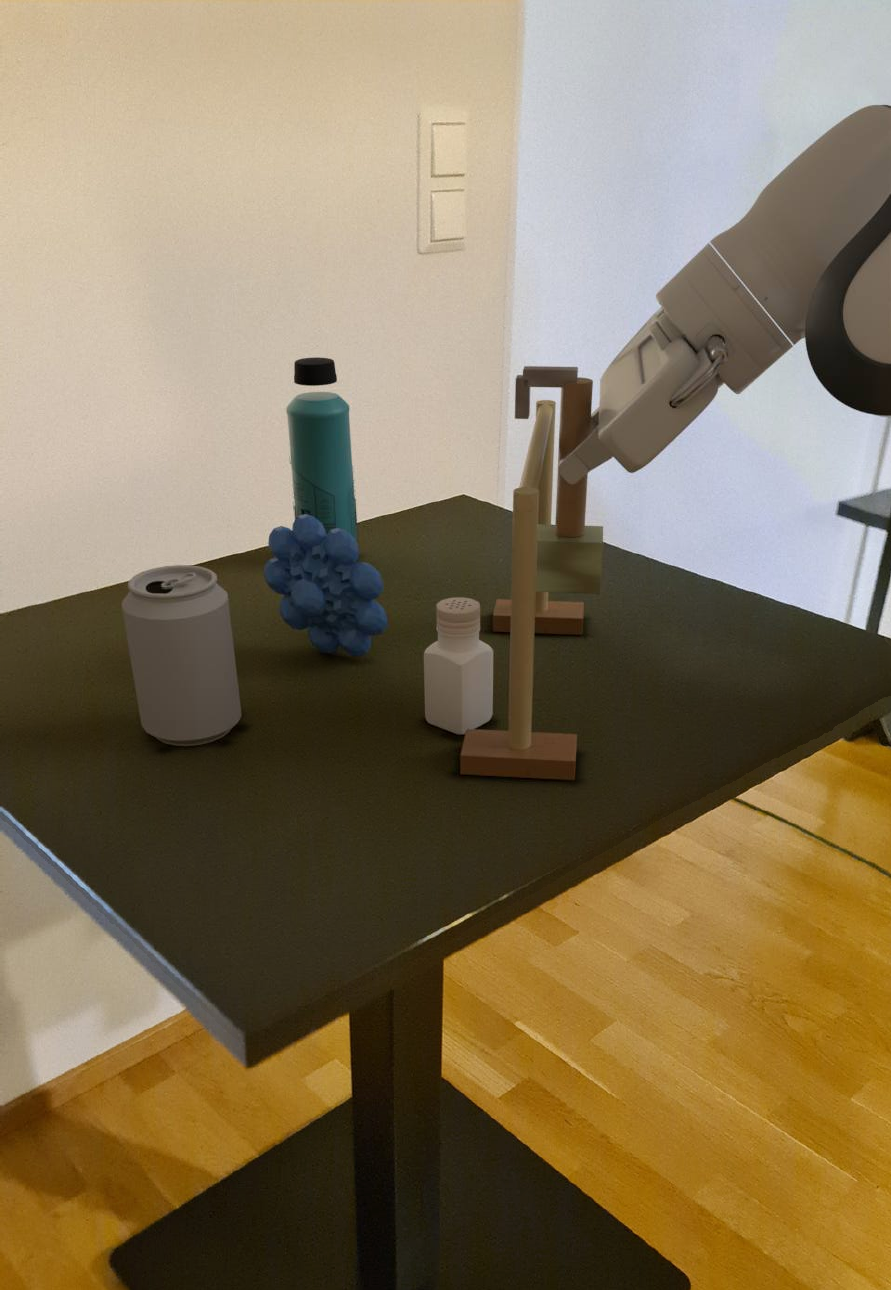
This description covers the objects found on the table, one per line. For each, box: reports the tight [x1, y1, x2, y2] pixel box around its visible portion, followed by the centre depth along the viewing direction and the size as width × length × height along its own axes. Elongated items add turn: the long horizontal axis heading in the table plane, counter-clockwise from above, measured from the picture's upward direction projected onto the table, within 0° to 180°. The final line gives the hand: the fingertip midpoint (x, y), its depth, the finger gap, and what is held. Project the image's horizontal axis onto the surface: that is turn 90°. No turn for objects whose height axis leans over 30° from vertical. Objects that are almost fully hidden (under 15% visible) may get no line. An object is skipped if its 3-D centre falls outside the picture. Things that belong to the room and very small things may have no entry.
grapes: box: [263, 514, 388, 657], centre depth 94 cm, size 12×7×12 cm, turn 64°
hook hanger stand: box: [514, 365, 604, 595], centre depth 83 cm, size 7×4×16 cm, turn 83°
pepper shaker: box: [423, 596, 494, 735], centre depth 84 cm, size 4×4×10 cm
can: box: [121, 564, 243, 747], centre depth 83 cm, size 8×8×12 cm
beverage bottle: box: [285, 356, 359, 542], centre depth 114 cm, size 6×7×20 cm
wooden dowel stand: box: [459, 399, 585, 781], centre depth 87 cm, size 8×30×20 cm, turn 173°
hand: (564, 469), depth 83 cm, fingers closed on hook hanger stand, 2 cm apart
